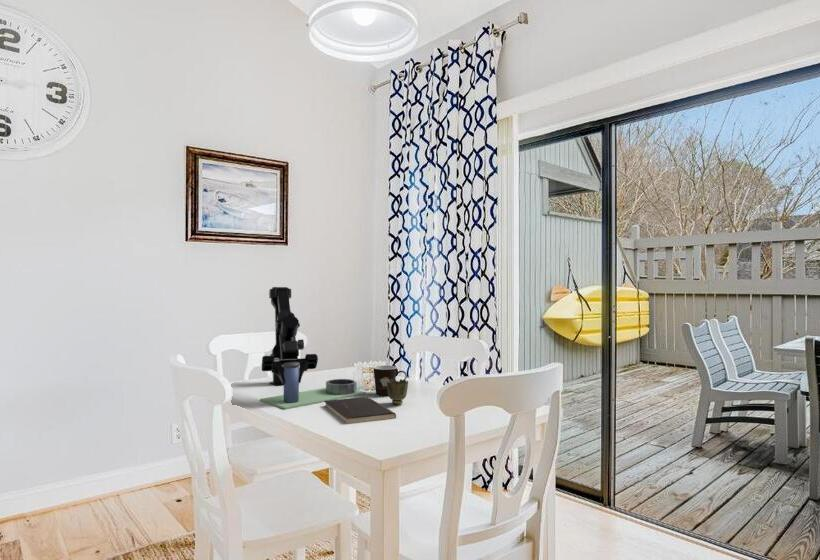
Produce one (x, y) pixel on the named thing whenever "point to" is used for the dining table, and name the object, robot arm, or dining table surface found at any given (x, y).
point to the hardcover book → (359, 410)
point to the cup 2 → (397, 390)
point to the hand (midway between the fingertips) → (291, 382)
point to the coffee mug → (384, 378)
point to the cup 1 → (341, 386)
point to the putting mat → (307, 398)
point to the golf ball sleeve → (291, 382)
